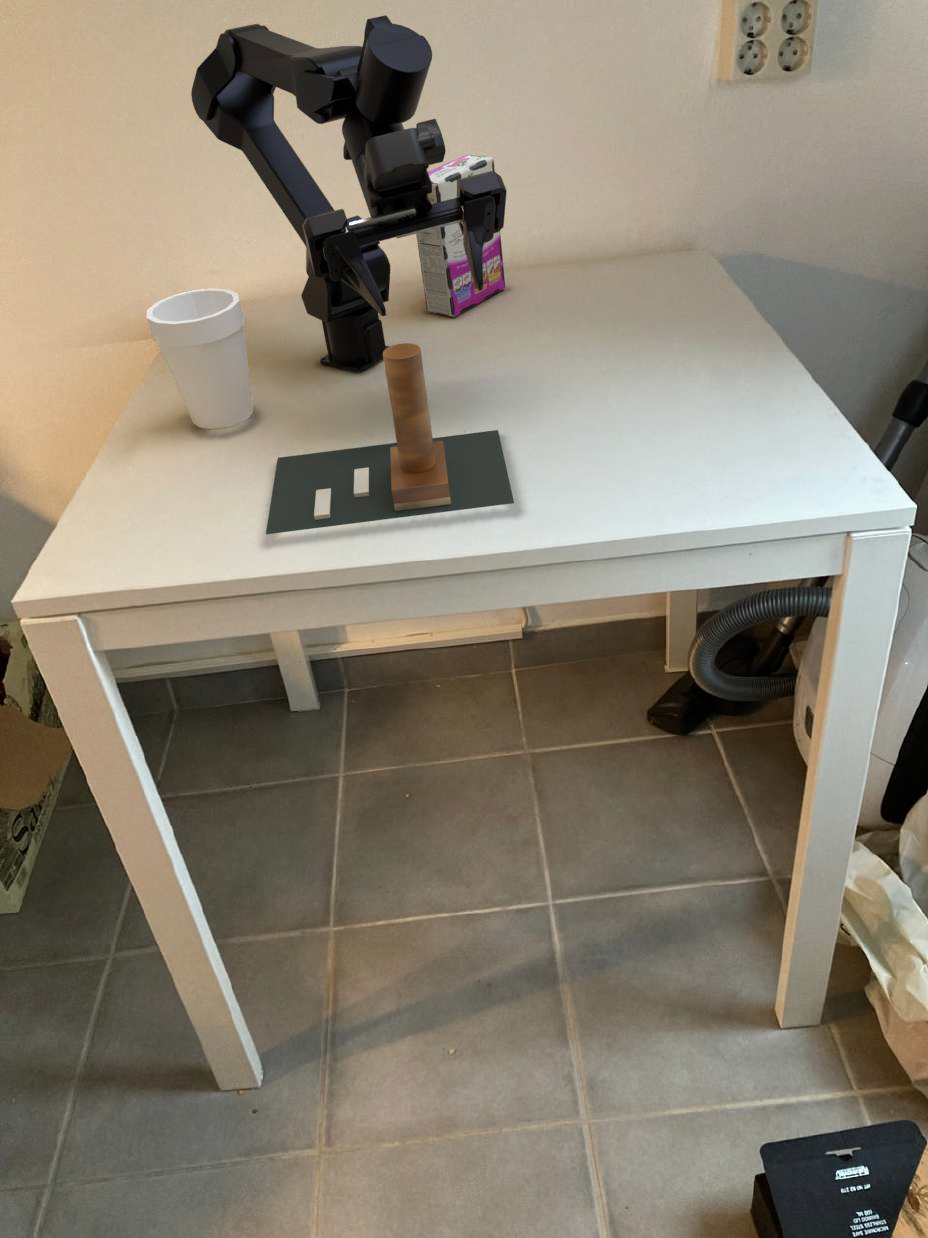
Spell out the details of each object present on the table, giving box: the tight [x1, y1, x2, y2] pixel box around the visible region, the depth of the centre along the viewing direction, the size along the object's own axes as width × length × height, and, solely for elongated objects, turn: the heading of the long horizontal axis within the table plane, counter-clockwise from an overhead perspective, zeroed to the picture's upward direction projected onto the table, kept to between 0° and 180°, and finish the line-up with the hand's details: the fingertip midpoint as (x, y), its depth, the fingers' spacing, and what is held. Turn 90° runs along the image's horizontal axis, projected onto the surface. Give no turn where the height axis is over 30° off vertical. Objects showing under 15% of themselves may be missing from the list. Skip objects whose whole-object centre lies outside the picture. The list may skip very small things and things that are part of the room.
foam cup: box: [146, 287, 254, 430], centre depth 103 cm, size 10×9×13 cm
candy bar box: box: [415, 154, 506, 318], centre depth 123 cm, size 11×5×16 cm, turn 141°
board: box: [265, 429, 515, 535], centre depth 92 cm, size 22×14×1 cm, turn 94°
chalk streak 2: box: [354, 468, 370, 498], centre depth 91 cm, size 1×4×1 cm, turn 4°
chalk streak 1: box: [314, 488, 332, 520], centre depth 89 cm, size 1×4×1 cm, turn 4°
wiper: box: [382, 342, 451, 511], centre depth 86 cm, size 5×8×13 cm, turn 4°
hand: (432, 300), depth 89 cm, fingers open, 9 cm apart
